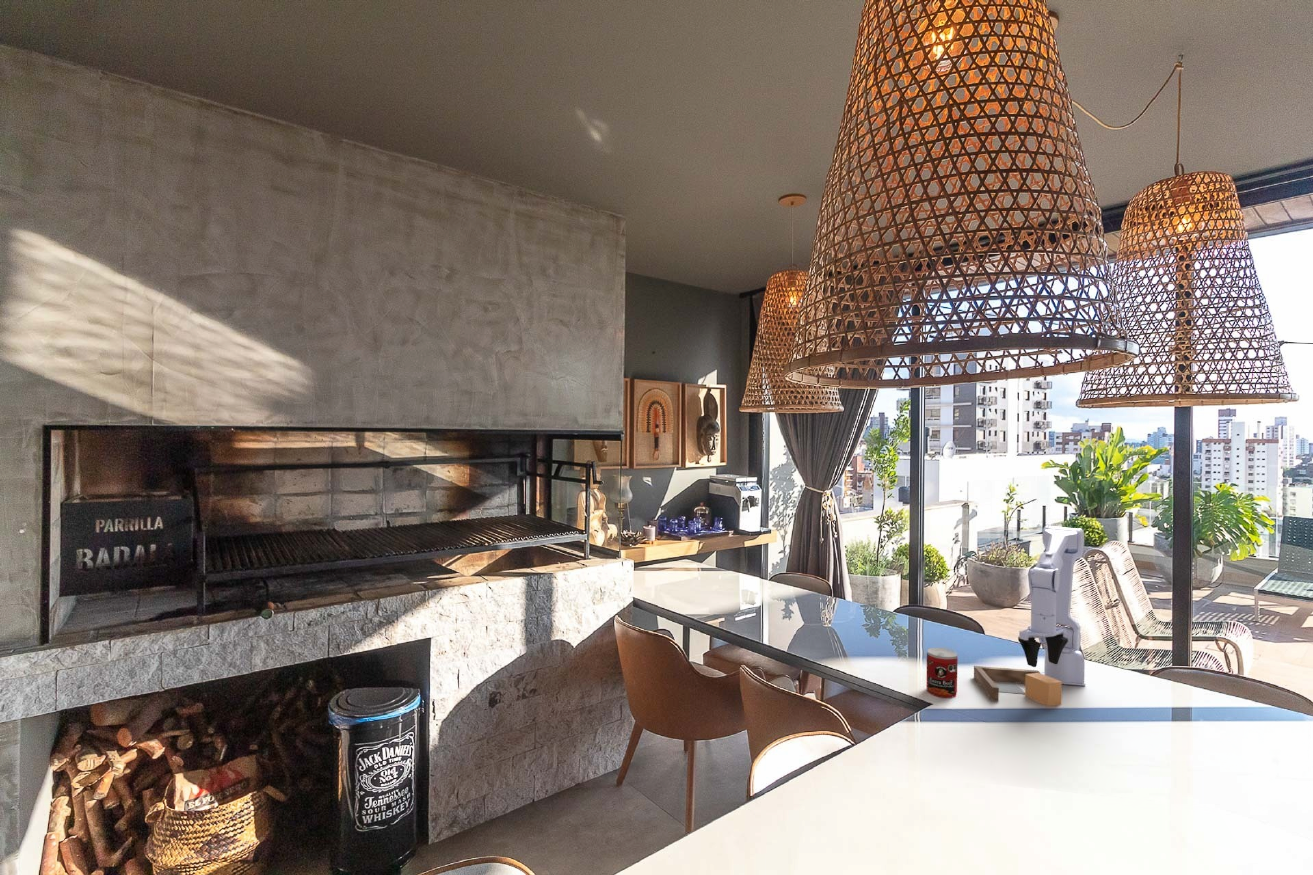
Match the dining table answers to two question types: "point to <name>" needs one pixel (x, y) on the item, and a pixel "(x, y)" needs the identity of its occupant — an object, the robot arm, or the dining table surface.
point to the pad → (1009, 687)
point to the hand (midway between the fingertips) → (1042, 664)
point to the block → (1043, 689)
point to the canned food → (942, 672)
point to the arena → (998, 678)
